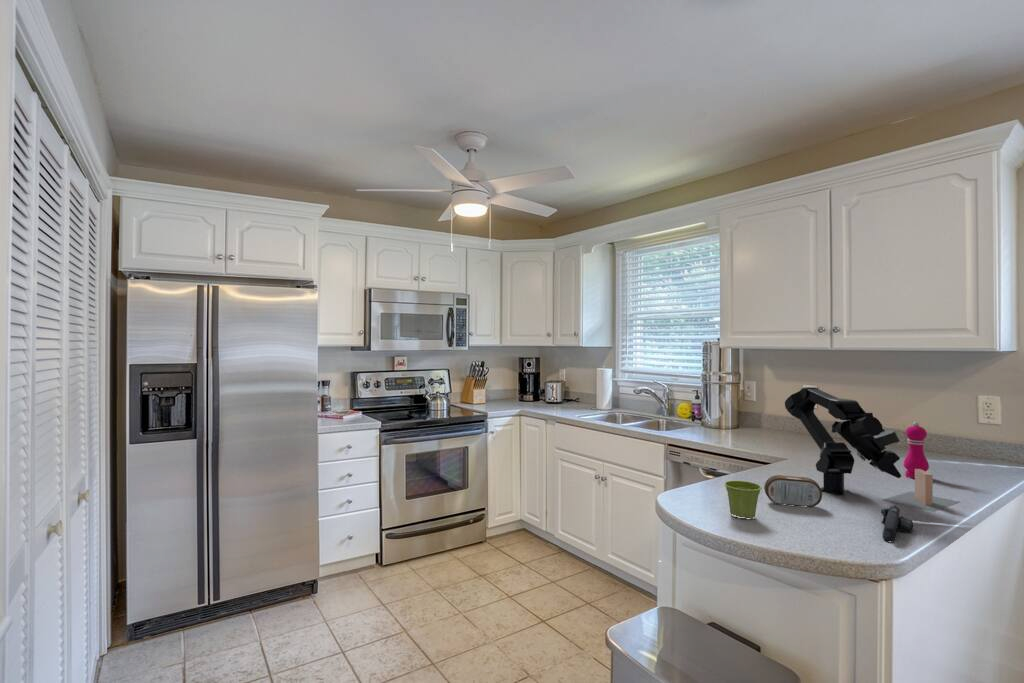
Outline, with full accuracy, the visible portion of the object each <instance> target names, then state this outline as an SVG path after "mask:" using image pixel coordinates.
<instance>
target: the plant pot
mask: <svg viewBox="0 0 1024 683" xmlns="http://www.w3.org/2000/svg"><path fill="white" fill-rule="evenodd" d="M724 486H725V487H726V491H727V498H728V504H729V512H730V513H731V514H733V515H736V516H739V517H745V518H753V517H755V518H756V512H757V507H758V506H757V505H758V501H759V500H758V498H759V495H760V493H761V490H762V489H763V487H762V486H761V485H760V484H758V483H755V482H752V481H744V480H728V481H725V482H724ZM731 514H730V515H731Z"/></svg>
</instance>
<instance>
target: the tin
mask: <svg viewBox="0 0 1024 683" xmlns="http://www.w3.org/2000/svg"><path fill="white" fill-rule="evenodd" d="M821 488H822V487H821V486H820V485H819V483H817V481H815V480H814V479H813V478H810V477H805V476H804V477H803V476H793V475H792V476H791V475H779V474H777V475H776V474H775V475H773V476H771V477H769V478H768V479H767V480H766V481H765V484H764V493H765V496H766V497H767V499H768V500H770V501H771V502H772V503H774V504H775V503H776V505H779V504H786V505H785V506H787V505H794V506H793V507H797V506H807V507H810V508H814V507H816V506H818V505H819V504H820V503H821V501H822V499H823V491H822V490H821ZM807 507H806V508H807Z"/></svg>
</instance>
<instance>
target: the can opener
mask: <svg viewBox="0 0 1024 683" xmlns="http://www.w3.org/2000/svg"><path fill="white" fill-rule="evenodd" d="M900 510H901V509H900V508H899V507H898V506H897V505H891V506H890V507H889V508H885V507H883V508H880V511H879V512H880V513H881V515H882V516H883V517H882V520H881V524H883V525H884V528H883V530H882V539H883V540H884V541H885V540H886V541H885V542H887V541H891V542H890V543H893V542H895V539H896V536H897V530H898V531H899V532H904V533H909V532H910V533H911V532H912V531H913V529H914V522H913V520H912V519H909V518H907V517H905V516H903V515H901V516H900V513H901V512H900ZM892 541H893V542H892Z"/></svg>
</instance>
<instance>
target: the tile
mask: <svg viewBox="0 0 1024 683" xmlns="http://www.w3.org/2000/svg"><path fill="white" fill-rule="evenodd" d="M933 477H934V476H933V474H931V473H930V472H927V471H926V472H925V471H923V470H921V469H915V479H914V492H915V499H916V500H918V501H919V502H921V503H923V504H924V505H929V506H932V505H933V479H934V478H933Z"/></svg>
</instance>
